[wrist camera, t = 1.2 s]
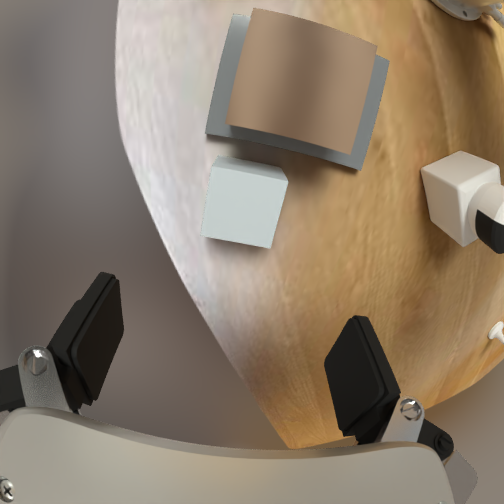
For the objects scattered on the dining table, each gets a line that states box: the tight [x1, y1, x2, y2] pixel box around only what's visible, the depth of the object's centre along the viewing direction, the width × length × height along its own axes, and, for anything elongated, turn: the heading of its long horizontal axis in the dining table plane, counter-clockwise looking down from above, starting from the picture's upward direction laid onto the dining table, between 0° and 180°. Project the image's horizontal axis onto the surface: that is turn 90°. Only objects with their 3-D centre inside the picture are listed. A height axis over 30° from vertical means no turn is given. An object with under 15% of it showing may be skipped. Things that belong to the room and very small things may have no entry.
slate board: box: [205, 14, 389, 171], centre depth 21 cm, size 15×12×1 cm
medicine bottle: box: [421, 151, 504, 254], centre depth 21 cm, size 7×7×12 cm
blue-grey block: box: [200, 155, 288, 248], centre depth 24 cm, size 6×6×6 cm
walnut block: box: [225, 8, 377, 155], centre depth 18 cm, size 9×9×6 cm
